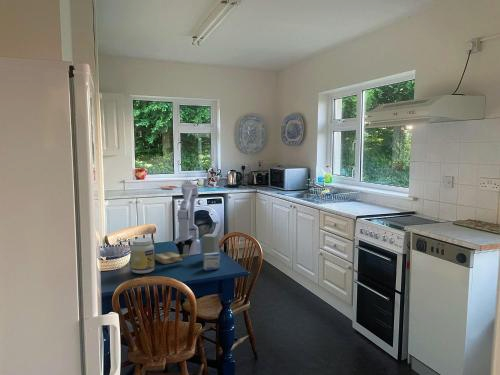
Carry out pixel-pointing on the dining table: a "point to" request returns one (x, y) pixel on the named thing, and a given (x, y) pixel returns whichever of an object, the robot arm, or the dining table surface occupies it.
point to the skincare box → (210, 244)
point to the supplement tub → (142, 255)
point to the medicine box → (211, 261)
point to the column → (185, 251)
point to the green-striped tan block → (168, 257)
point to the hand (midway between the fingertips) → (184, 253)
